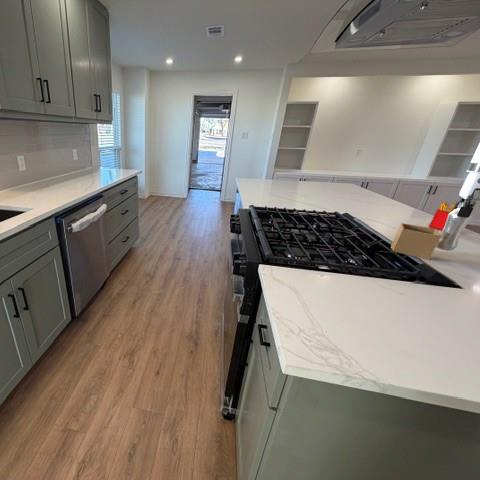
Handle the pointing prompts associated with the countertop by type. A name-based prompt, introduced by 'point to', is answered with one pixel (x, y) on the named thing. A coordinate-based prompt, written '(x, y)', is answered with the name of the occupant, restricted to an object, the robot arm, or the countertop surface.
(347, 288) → the countertop surface
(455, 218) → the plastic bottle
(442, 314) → the countertop surface
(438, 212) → the french fries container
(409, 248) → the bottle box
